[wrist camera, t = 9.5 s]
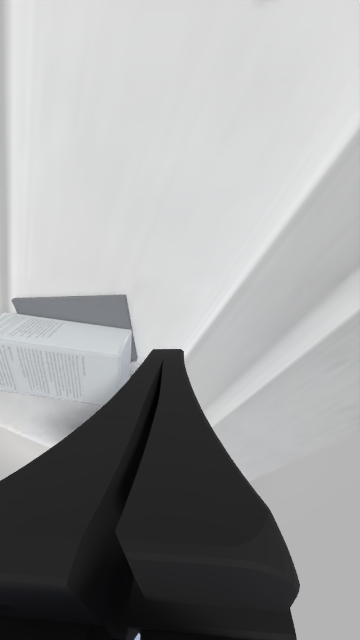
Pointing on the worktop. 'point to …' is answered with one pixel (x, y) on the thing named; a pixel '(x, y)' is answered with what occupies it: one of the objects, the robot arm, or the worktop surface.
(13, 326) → the skincare box
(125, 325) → the mat
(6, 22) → the worktop surface
